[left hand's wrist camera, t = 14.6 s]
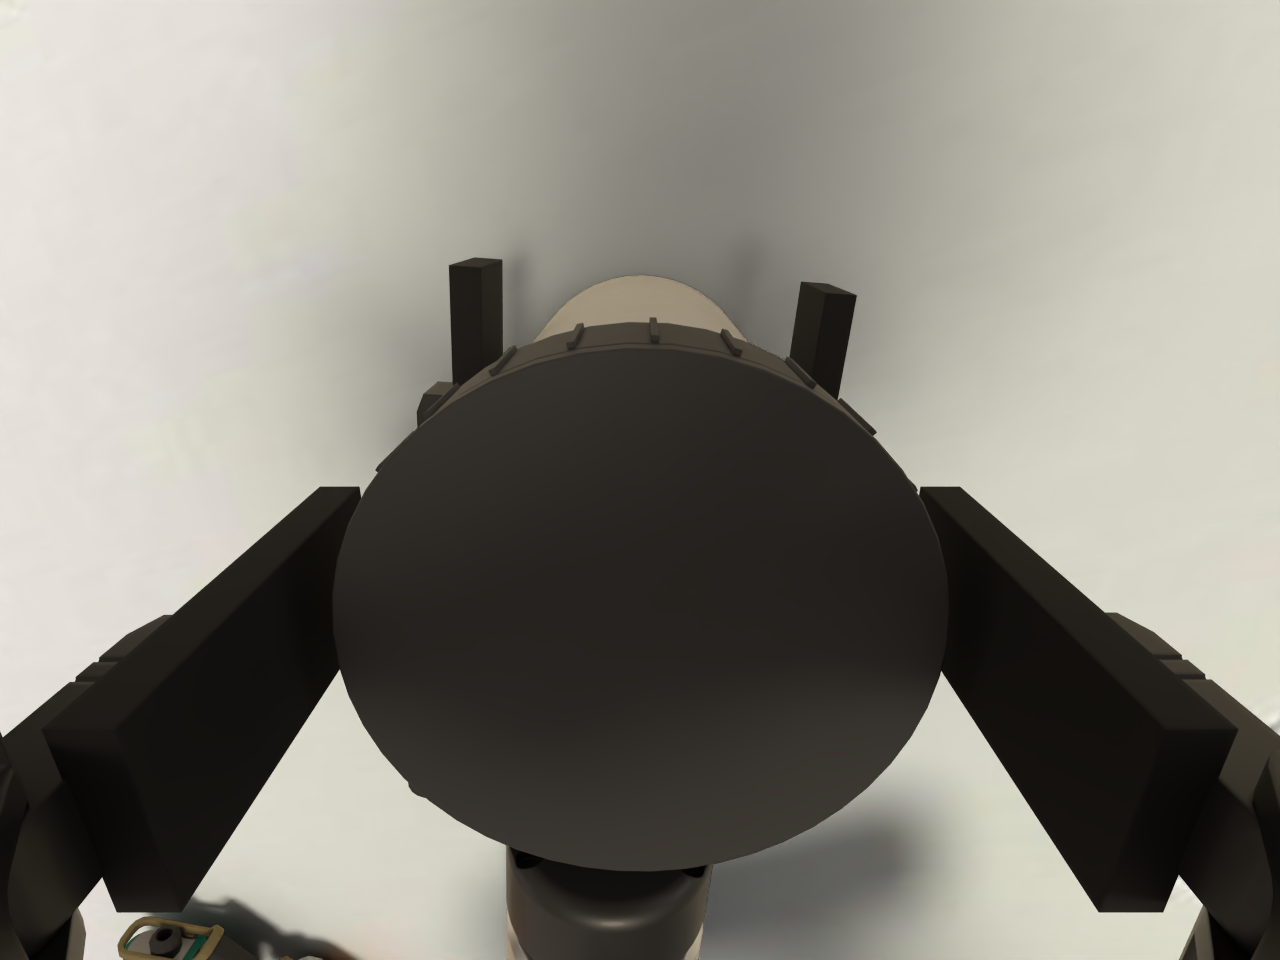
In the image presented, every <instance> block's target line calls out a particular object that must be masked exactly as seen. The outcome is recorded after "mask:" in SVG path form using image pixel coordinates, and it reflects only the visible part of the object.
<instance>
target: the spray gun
mask: <svg viewBox="0 0 1280 960" xmlns="http://www.w3.org/2000/svg"><path fill="white" fill-rule="evenodd" d="M149 925H150V926H156V927H161V928H159V929H158V930H157V931H154V930H150V931H146V932H143V933H141V934H138V935H137V936H135V937H134V938H133V939H131V940H130V938H131V937H132V936H133V934H134V933H135V932H136V931H137V930H138V929H139V928H141V927H143V926H149ZM223 933H224V928H222V927H221V926H219V925H214V926H213V927H211V928H208V927H203V926H198V925H193V924H188V923H182V922H177V921H172V920H167V919H162V918H156V917H143V918H140V919H138V920H136V921H135V922H134V923H133V924H132V925H131V926H130V927H129V928H128V929H127V931H126V932H125V933H124V935H123V936H122V937H121V939H120V941H119V943H118V952H119V956H120V957H121V958H123V960H259V959H257V958H256V957H255V956H253V955H252V954H250V953H249V952H248V951H246V950H245V949H244V948H242V947H241V946H240V945H238V944H237V943H236V942H234V941H233V940H232V939H230V938H229V937H227V936H226V935H223ZM194 934H198V936H197V938H196V939H195V936H194ZM222 935H223V936H222ZM206 936H209V938H208V939H207V938H206ZM129 940H130V941H129ZM128 941H129V942H128ZM126 944H127V945H126ZM125 946H126V947H125ZM279 960H293V959H291V958H290V957H288V956H285V957H282V958H280V959H279ZM299 960H323V959H322V958H318V957H313V956H307V957H304V958H301V959H299Z"/></svg>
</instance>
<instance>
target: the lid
mask: <svg viewBox="0 0 1280 960" xmlns="http://www.w3.org/2000/svg"><path fill="white" fill-rule="evenodd" d="M423 415H424V416H425V417H426V420H425V421H424V422H423V423H422V424H421V425H420V426H419V427H418V428H417V429H416V430H415V431H413V432H412V433H411V434H410V435H409V436H408V437H407V438H406V439H405V440H404V441H403V442H402V443H401V444H400V445H399V446H398V447H397V448H396V449H395V450H394V451H393V452H392V453H390V454H389V455H388V456H387V457H386V458H385V459H384V460H383V461H382V462H381V463H380V464H379V465H378V467H377V468H376V471H377V472H378V473H377V475H376V476H375V478H374V479H373V480H372V482H371V483H370V485H369V486H368V487H367V489H366V490H365V492H364V494H363V496H362V498H361V500H360V502H359V504H358V506H357V508H356V510H355V512H354V514H353V516H352V518H351V520H350V522H349V524H348V527H347V530H346V533H345V537H344V540H343V543H342V546H341V549H340V552H339V556H338V559H337V565H336V572H335V579H334V585H333V592H332V621H333V636H334V642H335V647H336V653H337V659H338V665H339V668H340V671H341V674H342V677H343V680H344V683H345V686H346V689H347V692H348V695H349V697H350V699H351V701H352V703H353V705H354V708H355V710H356V712H357V714H358V716H359V718H360V720H361V722H362V724H363V726H364V727H365V729H366V730H367V732H368V733H369V735H370V736H371V738H372V739H373V741H374V742H375V744H376V745H377V746H378V748H379V749H380V751H381V752H382V754H383V755H384V756H385V757H386V758H387V759H388V761H389V762H390V763H391V764H392V765H393V766H394V767H395V769H396V770H397V771H398V772H399V773H400V774H401V775H402V777H403V778H404V779H405V780H407V781H408V782H409V783H410V784H411V785H412V786H413V787H414V788H415V789H417V790H418V791H419V792H420V793H421V794H422V795H423V796H424V797H426V798H427V799H428V800H429V801H430V802H432V803H433V804H435V805H436V806H437V807H439V808H440V809H442V810H443V811H444V812H446V813H447V814H449V815H450V816H452V817H453V818H454V819H456V820H457V821H459V822H461V823H463V824H465V825H466V826H468V827H470V828H472V829H474V830H475V831H477V832H479V833H481V834H483V835H484V836H486V837H489V838H491V839H493V840H496V841H498V842H500V843H503V844H505V845H507V846H510V847H512V848H514V849H517V850H520V851H523V852H526V853H529V854H532V855H536V856H539V857H542V858H545V859H548V860H552V861H557V862H562V863H567V864H572V865H576V866H581V867H588V868H597V869H606V870H615V871H662V870H675V869H687V868H693V867H698V866H704V865H710V864H716V863H721V862H724V861H728V860H732V859H735V858H739V857H743V856H746V855H750V854H753V853H756V852H758V851H761V850H764V849H766V848H769V847H771V846H774V845H777V844H779V843H782V842H784V841H786V840H788V839H790V838H792V837H794V836H796V835H798V834H800V833H802V832H804V831H806V830H808V829H810V828H812V827H814V826H816V825H817V824H819V823H820V822H822V821H823V820H825V819H826V818H828V817H830V816H831V815H833V814H834V813H836V812H837V811H839V810H840V809H842V808H843V807H844V806H846V805H847V804H848V803H849V802H851V801H852V800H853V799H854V798H855V797H857V796H858V795H859V794H860V793H862V792H863V791H864V790H865V789H866V788H868V787H869V786H870V785H871V784H872V783H873V782H874V780H875V779H876V778H877V777H878V776H879V775H880V774H881V773H882V772H883V771H884V770H885V769H886V768H887V767H888V766H889V765H890V764H891V763H892V761H893V760H894V759H895V757H896V756H897V755H898V754H899V752H900V751H901V750H902V748H903V747H904V746H905V744H906V743H907V742H908V740H909V739H910V738H911V736H912V734H913V732H914V731H915V729H916V727H917V725H918V724H919V722H920V720H921V718H922V717H923V715H924V713H925V711H926V709H927V708H928V705H929V703H930V700H931V697H932V695H933V692H934V690H935V687H936V685H937V682H938V680H939V677H940V673H941V669H942V664H943V660H944V656H945V651H946V647H947V641H948V627H949V614H950V604H949V592H948V580H947V571H946V567H945V563H944V559H943V555H942V551H941V547H940V543H939V539H938V536H937V534H936V531H935V529H934V527H933V524H932V522H931V520H930V517H929V515H928V513H927V510H926V508H925V506H924V503H923V502H922V500H921V498H920V497H919V495H918V494H917V491H918V490H917V488H916V486H915V485H914V484H913V483H912V482H911V481H910V480H909V479H908V478H907V476H906V474H905V473H904V471H903V470H902V469H901V468H900V466H899V465H898V464H897V463H896V462H895V461H894V459H893V458H892V457H891V456H890V455H889V454H888V452H887V451H886V450H885V449H884V448H883V447H882V446H881V444H880V443H879V442H878V441H877V440H876V439H875V438H874V437H873V435H874V434H876V433H877V432H876V431H875V430H874V429H873V428H872V427H871V426H870V425H869V424H868V423H867V422H866V421H865V420H864V419H863V418H862V417H861V416H860V415H859V414H858V413H857V412H855V411H854V410H853V409H852V408H851V407H850V406H849V405H848V404H847V403H846V402H845V401H844V400H843V399H842V398H840V399H839V400H838V401H836V400H835V399H834V398H833V397H832V396H831V395H830V394H828V393H827V392H826V391H825V390H824V389H823V388H821V387H820V386H819V385H818V384H817V383H816V382H815V381H814V380H813V379H812V378H811V377H810V376H809V375H808V374H807V373H806V372H805V371H804V370H803V369H802V368H801V367H800V366H799V365H798V364H797V363H796V362H795V361H794V360H793V359H791V358H790V357H788V356H787V358H786V359H785V361H784V360H783V359H781V358H779V357H778V356H776V355H774V354H772V353H769V352H767V351H765V350H763V349H761V348H759V347H756V346H754V345H752V344H750V343H748V342H745V341H743V340H740V339H737V338H734V337H733V336H732V335H731V334H730V332H729V331H728V330H726V329H722V330H721V333H717V332H714V331H711V330H707V329H702V328H696V327H690V326H683V325H677V324H671V323H657V318H656V317H650V321H649V323H648V322H624V323H615V324H606V325H596V326H589V327H585V328H584V324H583V323H579V324H577V325H576V326H575V328H574V330H572V331H568V332H564V333H560V334H556V335H552V336H550V337H547V338H545V339H542V340H540V341H537V342H535V343H532V344H530V345H527V346H525V347H522V348H519V349H517V348H516V346H515V345H514V346H512V347H510V348H509V349H508V350H507V351H506V352H505V353H504V354H503V355H502V356H501V357H500V358H499V360H498V361H496V362H494V363H492V364H491V365H489V366H487V367H485V368H484V369H483V370H481V371H480V372H479V373H477V374H476V375H475V376H474V377H472V378H471V379H470V380H468V381H467V382H466V383H464V384H463V385H462V386H461V387H460V385H459V384H458V383H456V384H455V385H453V386H452V387H451V388H450V389H449V390H448V391H447V392H446V393H445V394H444V395H443V396H442V397H441V398H440V399H439V400H438V401H437V402H435V403H434V404H433V405H432V406H431V407H430V408H429V409H428V410H427V411H426V412H425V413H424V414H423Z"/></svg>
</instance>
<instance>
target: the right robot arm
mask: <svg viewBox="0 0 1280 960" xmlns="http://www.w3.org/2000/svg"><path fill="white" fill-rule="evenodd" d="M449 281H450V312H451V343H452V374H453V383H452V382H437V383H436V384H435V385H434V386H432V387H431V388H430V389H429V390H428V391H427V392H425V393H424V394H423V397H422V399H421V402H420V405H419V407H418V410H417V425H418V427H419V426H420V425H421V424H422V423H423V422H424V421H425V420H426V417H425V416H424V415H423V414H424V413H425V412H426V411H427V410H428V409H429V408H430V407H431V406H432V405H433V404H434V403H435V402H437V401H438V400H439V399H440V398H441V397H442V396H443V395H444V394H445V393H446V392H447V391H448V390H449V389H450V388H451V387H452V386H453V385H455V384H456V383H458V384H459V385H460V387H461V386H462V385H463V384H464V383H466V382H467V381H468V380H470V379H471V378H472V377H474V376H475V375H476V374H477V373H479V372H480V371H481V370H483V369H484V368H485V367H487V366H489V365H491V364H492V363H494V362H496V361H498V360H499V358H500V357H501V356H502V355H503V303H502V260H500V259H487V258H472V259H468V260H465V261H462V262H458V263H455V264H452V265H449ZM856 297H857V295H855V294H852V293H850V292H847V291H845V290H842V289H840V288H837V287H835V286H832V285H830V284H824V283H811V282H801V286H800V292H799V299H798V305H797V312H796V318H795V325H794V331H793V338H792V344H791V351H790V358H791V359H793V360H794V361H795V362H796V363H797V364H798V365H799V366H800V367H801V368H802V369H803V370H804V371H805V372H806V373H807V374H808V375H809V376H810V377H811V378H812V379H813V380H814V381H815V382H816V383H817V384H818V385H819V386H820V387H821V388H823V389H824V390H825V391H826V392H827V393H828V394H830V395H831V396H832V397H833V398H834V399H835V400H836V401H837V400H838V395H839V389H840V384H841V378H842V373H843V368H844V362H845V357H846V351H847V346H848V340H849V335H850V330H851V324H852V319H853V313H854V308H855V303H856ZM408 784H409V788H410V789H411V791H412V792H413V793H415V794H416V795H418V796H421V797H424V796H423V795H422V794H421V793H420V792H419V791H418V790H417V789H415V788H414V787H413V786H412V785H411V784H410V783H409V782H408ZM424 798H426V797H424ZM712 867H713V864H710V865H704V866H698V867H693V868H687V869H675V870H662V871H615V870H606V869H597V868H588V867H581V866H576V865H572V864H567V863H562V862H557V861H552V860H548V859H545V858H542V857H539V856H536V855H532V854H529V853H526V852H523V851H520V850H517V849H514V848H512V847H510V846H507V845H506V888H507V911H506V928H507V960H698V957H699V952H700V946H701V940H702V935H703V920H704V916H705V912H706V906H707V899H708V893H709V886H710V880H711V873H712Z"/></svg>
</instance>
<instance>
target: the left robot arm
mask: <svg viewBox="0 0 1280 960" xmlns="http://www.w3.org/2000/svg"><path fill="white" fill-rule="evenodd" d="M919 497H920V498H921V500H922V502H923V503H924V506H925V508H926V510H927V513H928V515H929V517H930V520H931V522H932V524H933V527H934V529H935V531H936V534H937V536H938V539H939V543H940V547H941V551H942V555H943V559H944V563H945V567H946V571H947V580H948V592H949V604H950V614H949V627H948V641H947V647H946V651H945V656H944V660H943V664H942V669H941V671H942V673H943V674H944V676H945V677H946V679H947V680H948V682H949V683H950V685H951V686H952V688H953V689H954V691H955V693H956V694H957V696H958V697H959V699H960V700H961V702H962V703H963V705H964V706H965V708H966V709H967V711H968V712H969V714H970V716H971V717H972V719H973V720H974V722H975V723H976V725H977V726H978V728H979V729H980V731H981V732H982V734H983V735H984V737H985V739H986V740H987V742H988V743H989V745H990V746H991V748H992V749H993V751H994V752H995V754H996V755H997V757H998V758H999V760H1000V762H1001V763H1002V765H1003V766H1004V768H1005V769H1006V771H1007V772H1008V774H1009V775H1010V777H1011V778H1012V780H1013V781H1014V783H1015V785H1016V786H1017V788H1018V789H1019V791H1020V792H1021V794H1022V795H1023V797H1024V798H1025V800H1026V801H1027V803H1028V804H1029V806H1030V808H1031V809H1032V811H1033V812H1034V814H1035V815H1036V817H1037V818H1038V820H1039V821H1040V823H1041V824H1042V826H1043V827H1044V829H1045V831H1046V832H1047V834H1048V835H1049V837H1050V838H1051V840H1052V841H1053V843H1054V844H1055V846H1056V847H1057V849H1058V850H1059V852H1060V854H1061V855H1062V857H1063V858H1064V860H1065V861H1066V863H1067V864H1068V866H1069V867H1070V869H1071V870H1072V872H1073V873H1074V875H1075V877H1076V878H1077V880H1078V881H1079V883H1080V884H1081V886H1082V887H1083V889H1084V890H1085V892H1086V893H1087V895H1088V896H1089V898H1090V900H1091V901H1092V903H1093V904H1094V906H1095V907H1096V909H1097V910H1098V912H1163V911H1164V909H1165V907H1166V904H1167V902H1168V899H1169V897H1170V894H1171V892H1172V890H1173V887H1174V885H1175V882H1176V880H1177V877H1178V875H1180V877H1181V878H1182V879H1183V880H1184V882H1185V883H1186V884H1187V885H1188V887H1189V888H1190V889H1191V890H1192V891H1193V893H1194V894H1195V895H1196V896H1197V898H1198V899H1199V900H1200V901H1201V903H1202V904H1203V907H1202V909H1201V911H1200V913H1199V916H1198V918H1197V920H1196V922H1195V925H1194V927H1193V929H1192V931H1191V934H1190V936H1189V938H1188V941H1187V943H1186V945H1185V947H1184V950H1183V952H1182V954H1181V956H1180V959H1179V960H1280V736H1279V735H1278V734H1277V733H1276V732H1274V731H1273V730H1272V729H1271V728H1270V727H1268V726H1267V725H1266V724H1265V723H1263V722H1262V721H1261V720H1260V719H1259V718H1257V717H1256V716H1255V715H1254V714H1253V713H1251V712H1250V711H1249V710H1248V709H1246V708H1245V707H1244V706H1243V705H1242V704H1240V703H1239V702H1238V701H1237V700H1236V699H1234V698H1233V697H1232V696H1231V695H1229V694H1228V693H1227V692H1226V691H1225V690H1223V689H1222V688H1221V687H1220V686H1219V685H1217V684H1216V683H1215V682H1214V681H1212V680H1206V678H1205V674H1204V673H1203V672H1202V671H1200V670H1199V669H1198V668H1197V667H1195V666H1194V665H1193V664H1192V663H1191V662H1189V661H1188V660H1183V659H1182V655H1181V654H1180V653H1179V652H1177V651H1176V650H1175V649H1174V648H1172V647H1171V646H1170V645H1169V644H1168V643H1166V642H1165V641H1164V640H1163V639H1162V638H1160V637H1159V636H1158V635H1157V634H1155V633H1154V632H1153V631H1151V630H1149V629H1147V628H1145V627H1143V626H1141V625H1139V624H1137V623H1135V622H1134V621H1132V620H1130V619H1128V618H1126V617H1124V616H1122V615H1120V614H1118V613H1105V612H1103V611H1102V610H1101V609H1100V608H1099V607H1098V606H1097V605H1095V604H1094V603H1093V602H1092V601H1091V600H1090V599H1088V598H1087V597H1086V596H1085V595H1084V594H1083V593H1082V592H1080V591H1079V590H1078V589H1077V588H1076V587H1075V586H1074V585H1072V584H1071V583H1070V582H1069V581H1068V580H1067V579H1065V578H1064V577H1063V576H1062V575H1061V574H1060V573H1059V572H1057V571H1056V570H1055V569H1054V568H1053V567H1052V566H1051V565H1049V564H1048V563H1047V562H1046V561H1045V560H1044V559H1042V558H1041V557H1040V556H1039V555H1038V554H1037V553H1036V552H1034V551H1033V550H1032V549H1031V548H1030V547H1029V546H1028V545H1026V544H1025V543H1024V542H1023V541H1022V540H1021V539H1019V538H1018V537H1017V536H1016V535H1015V534H1014V533H1013V532H1011V531H1010V530H1009V529H1008V528H1007V527H1006V526H1005V525H1003V524H1002V523H1001V522H1000V521H999V520H998V519H996V518H995V517H994V516H993V515H992V514H991V513H990V512H988V511H987V510H986V509H985V508H984V507H983V506H981V505H980V504H979V503H978V502H977V501H976V500H975V499H973V498H972V497H971V496H970V495H969V494H968V493H967V492H965V491H964V490H963V489H962V488H961V487H921V488H920V494H919ZM360 500H361V494H360V488H359V487H319V488H318V489H317V490H316V491H315V492H313V493H312V494H311V495H310V496H309V497H308V498H307V499H305V500H304V501H303V502H302V503H301V504H300V505H299V506H297V507H296V508H295V509H294V510H293V511H292V512H290V513H289V514H288V515H287V516H286V517H285V518H284V519H282V520H281V521H280V522H279V523H278V524H277V525H275V526H274V527H273V528H272V529H271V530H270V531H269V532H267V533H266V534H265V535H264V536H263V537H262V538H261V539H259V540H258V541H257V542H256V543H255V544H254V545H252V546H251V547H250V548H249V549H248V550H247V551H246V552H244V553H243V554H242V555H241V556H240V557H239V558H238V559H236V560H235V561H234V562H233V563H232V564H231V565H229V566H228V567H227V568H226V569H225V570H224V571H223V572H221V573H220V574H219V575H218V576H217V577H216V578H215V579H213V580H212V581H211V582H210V583H209V584H208V585H206V586H205V587H204V588H203V589H202V590H201V591H200V592H198V593H197V594H196V595H195V596H194V597H193V598H192V599H190V600H189V601H188V602H187V603H186V604H185V605H183V606H182V607H181V608H180V609H179V610H178V611H177V612H175V613H174V614H173V615H163V616H161V617H159V618H157V619H155V620H154V621H152V622H150V623H148V624H146V625H144V626H142V627H140V628H138V629H137V630H135V631H133V632H131V633H129V634H127V635H126V636H125V637H123V638H122V639H121V640H120V641H119V642H117V643H116V644H115V645H114V646H113V647H111V648H110V649H109V650H108V651H107V652H105V653H104V654H103V655H102V656H101V657H99V662H93V663H92V664H91V665H90V666H88V667H87V668H86V669H85V670H84V671H82V672H81V673H80V674H79V675H78V676H76V680H75V682H69V683H68V684H67V685H66V686H64V687H63V688H62V689H61V690H60V691H58V692H57V693H56V694H55V695H54V696H52V697H51V698H50V699H49V700H48V701H46V702H45V703H44V704H43V705H41V706H40V707H39V708H38V709H37V710H35V711H34V712H33V713H32V714H31V715H29V716H28V717H27V718H26V719H25V720H23V721H22V722H21V723H20V724H19V725H17V726H16V727H15V728H14V729H13V730H11V731H10V732H9V733H8V734H7V735H5V736H4V737H2V735H1V733H0V960H83V955H84V946H85V938H86V931H85V926H84V922H83V918H82V916H81V913H80V911H79V909H78V907H79V905H80V904H81V903H82V902H83V900H84V899H85V898H86V897H87V895H88V894H89V893H90V892H91V890H92V889H93V888H94V887H95V885H96V884H97V883H98V882H99V880H100V879H101V878H102V877H103V880H104V882H105V885H106V887H107V890H108V892H109V894H110V897H111V899H112V902H113V904H114V907H115V909H116V911H117V912H182V910H183V909H184V907H185V906H186V904H187V903H188V901H189V900H190V898H191V896H192V895H193V893H194V892H195V890H196V889H197V887H198V886H199V884H200V883H201V881H202V880H203V878H204V877H205V875H206V873H207V872H208V870H209V869H210V867H211V866H212V864H213V863H214V861H215V860H216V858H217V857H218V855H219V854H220V852H221V850H222V849H223V847H224V846H225V844H226V843H227V841H228V840H229V838H230V837H231V835H232V834H233V832H234V831H235V829H236V827H237V826H238V824H239V823H240V821H241V820H242V818H243V817H244V815H245V814H246V812H247V811H248V809H249V808H250V806H251V804H252V803H253V801H254V800H255V798H256V797H257V795H258V794H259V792H260V791H261V789H262V788H263V786H264V785H265V783H266V781H267V780H268V778H269V777H270V775H271V774H272V772H273V771H274V769H275V768H276V766H277V765H278V763H279V762H280V760H281V758H282V757H283V755H284V754H285V752H286V751H287V749H288V748H289V746H290V745H291V743H292V742H293V740H294V739H295V737H296V735H297V734H298V732H299V731H300V729H301V728H302V726H303V725H304V723H305V722H306V720H307V719H308V717H309V716H310V714H311V712H312V711H313V709H314V708H315V706H316V705H317V703H318V702H319V700H320V699H321V697H322V696H323V694H324V693H325V691H326V689H327V688H328V686H329V685H330V683H331V682H332V680H333V679H334V677H335V676H336V674H337V673H338V671H339V670H340V668H339V665H338V659H337V653H336V647H335V642H334V636H333V621H332V592H333V585H334V579H335V572H336V565H337V559H338V556H339V552H340V549H341V546H342V543H343V540H344V537H345V533H346V530H347V527H348V524H349V522H350V520H351V518H352V516H353V514H354V512H355V510H356V508H357V506H358V504H359V502H360Z"/></svg>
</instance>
